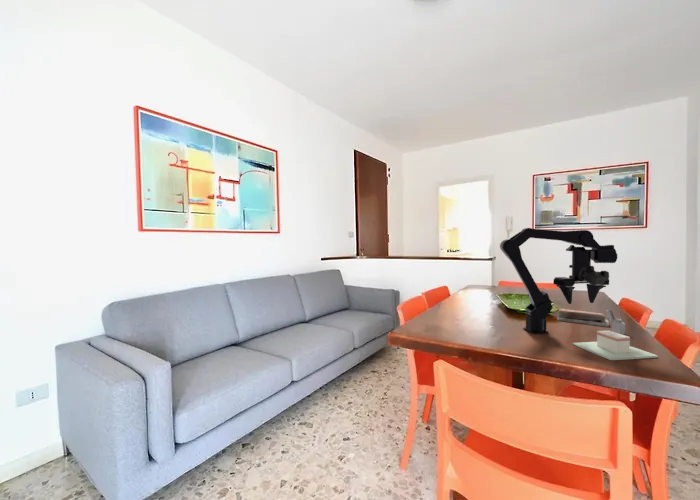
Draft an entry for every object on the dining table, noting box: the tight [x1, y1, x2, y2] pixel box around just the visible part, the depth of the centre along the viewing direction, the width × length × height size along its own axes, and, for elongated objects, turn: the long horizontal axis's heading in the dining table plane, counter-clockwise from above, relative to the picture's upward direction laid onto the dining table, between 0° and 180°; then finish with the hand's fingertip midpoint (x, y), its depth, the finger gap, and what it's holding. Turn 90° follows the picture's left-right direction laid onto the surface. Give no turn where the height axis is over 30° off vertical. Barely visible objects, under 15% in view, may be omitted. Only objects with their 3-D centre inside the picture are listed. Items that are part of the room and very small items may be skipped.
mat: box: [572, 341, 659, 361], centre depth 101 cm, size 16×14×1 cm
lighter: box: [605, 309, 626, 335], centre depth 121 cm, size 7×2×8 cm, turn 1°
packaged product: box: [557, 308, 610, 328], centre depth 137 cm, size 18×5×10 cm
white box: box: [596, 329, 631, 353], centre depth 101 cm, size 7×5×5 cm, turn 6°
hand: (580, 303), depth 118 cm, fingers open, 9 cm apart
